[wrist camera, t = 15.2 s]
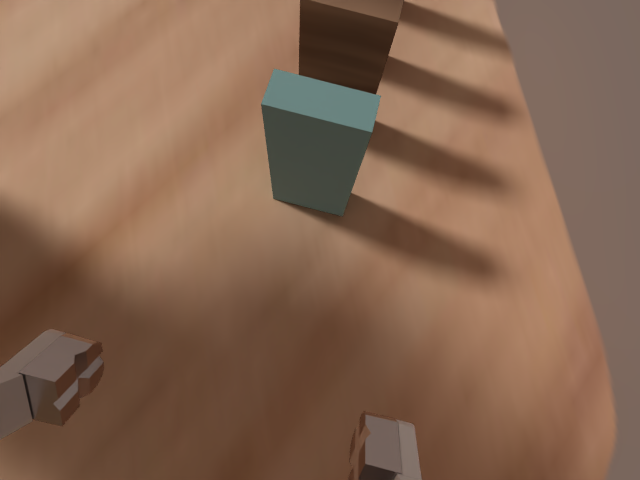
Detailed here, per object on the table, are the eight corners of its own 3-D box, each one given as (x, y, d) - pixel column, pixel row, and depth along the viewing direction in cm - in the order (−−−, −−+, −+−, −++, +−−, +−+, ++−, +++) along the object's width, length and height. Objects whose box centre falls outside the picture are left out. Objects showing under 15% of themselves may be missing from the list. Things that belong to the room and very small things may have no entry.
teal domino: (342, 216, 25) (372, 132, 16) (273, 198, 25) (261, 103, 16) (348, 191, 26) (380, 95, 16) (281, 174, 26) (273, 68, 16)
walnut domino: (361, 138, 27) (398, 22, 18) (297, 122, 27) (300, -3, 18) (367, 117, 28) (405, -7, 18) (304, 101, 28) (310, -31, 18)
